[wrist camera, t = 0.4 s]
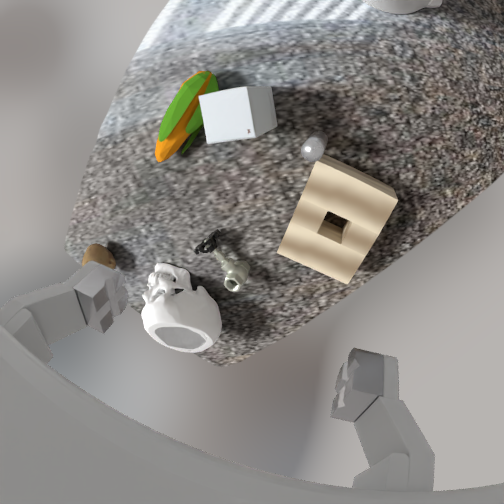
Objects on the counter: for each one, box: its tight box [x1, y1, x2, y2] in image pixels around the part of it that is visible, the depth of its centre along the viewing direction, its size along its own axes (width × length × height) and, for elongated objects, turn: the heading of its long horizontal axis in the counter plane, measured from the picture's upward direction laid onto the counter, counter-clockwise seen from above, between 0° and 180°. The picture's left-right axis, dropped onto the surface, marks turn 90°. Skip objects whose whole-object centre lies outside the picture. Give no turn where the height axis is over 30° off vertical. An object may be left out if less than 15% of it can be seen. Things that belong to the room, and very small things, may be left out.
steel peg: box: [301, 131, 328, 162], centre depth 42 cm, size 3×3×10 cm
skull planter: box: [142, 263, 222, 352], centre depth 69 cm, size 14×20×19 cm
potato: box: [82, 244, 116, 269], centre depth 72 cm, size 9×9×10 cm
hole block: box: [277, 154, 398, 284], centre depth 49 cm, size 18×14×6 cm
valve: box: [194, 229, 251, 292], centre depth 61 cm, size 7×7×12 cm
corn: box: [155, 71, 219, 162], centre depth 47 cm, size 7×8×20 cm
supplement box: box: [199, 86, 277, 144], centre depth 41 cm, size 7×7×13 cm
